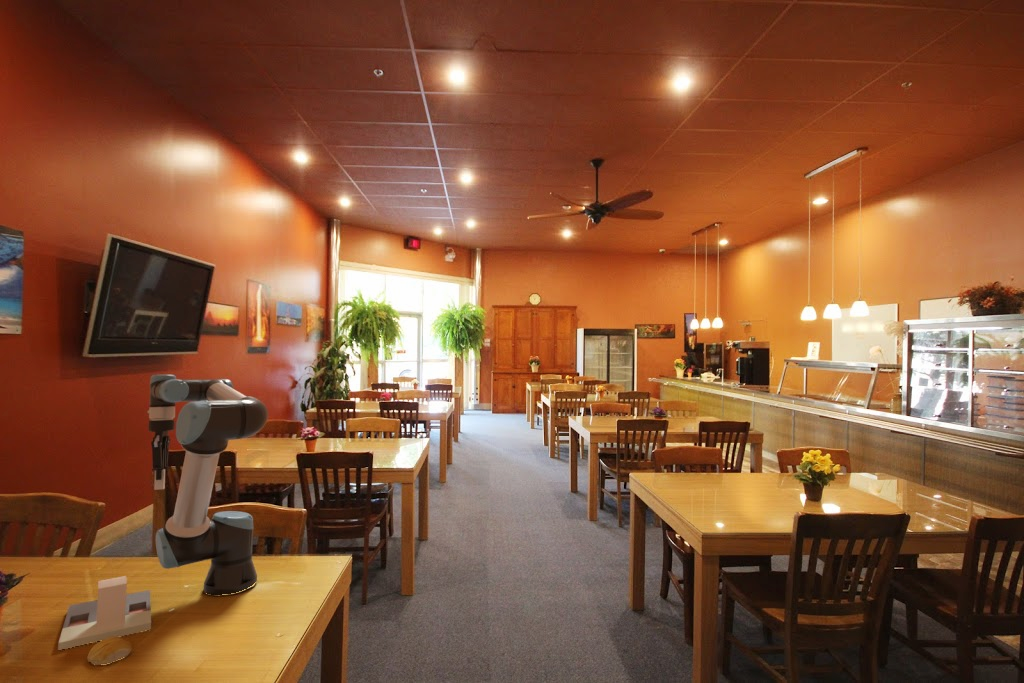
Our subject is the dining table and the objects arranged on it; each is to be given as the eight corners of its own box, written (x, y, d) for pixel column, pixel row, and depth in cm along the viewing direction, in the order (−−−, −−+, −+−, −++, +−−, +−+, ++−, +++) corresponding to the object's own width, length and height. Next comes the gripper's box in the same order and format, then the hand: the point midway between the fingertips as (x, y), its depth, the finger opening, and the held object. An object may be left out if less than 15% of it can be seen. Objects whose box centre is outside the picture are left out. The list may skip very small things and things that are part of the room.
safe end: (62, 636, 138) (62, 628, 138) (150, 617, 149) (150, 610, 149) (58, 651, 131) (58, 642, 131) (150, 630, 142) (151, 622, 142)
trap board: (69, 612, 151) (69, 605, 151) (149, 596, 162) (150, 589, 162) (62, 636, 138) (62, 628, 138) (150, 617, 149) (150, 610, 149)
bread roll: (119, 644, 135) (120, 628, 136) (136, 655, 131) (137, 638, 131) (80, 659, 128) (81, 642, 129) (96, 671, 124) (97, 653, 124)
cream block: (96, 622, 142) (98, 580, 142) (124, 616, 145) (126, 575, 146) (96, 632, 137) (98, 588, 137) (124, 625, 140) (126, 583, 141)
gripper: (155, 419, 188) (152, 486, 186) (142, 420, 176) (140, 493, 174) (179, 418, 190) (177, 485, 188) (169, 419, 178) (166, 491, 176)
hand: (159, 489), depth 181 cm, fingers closed
